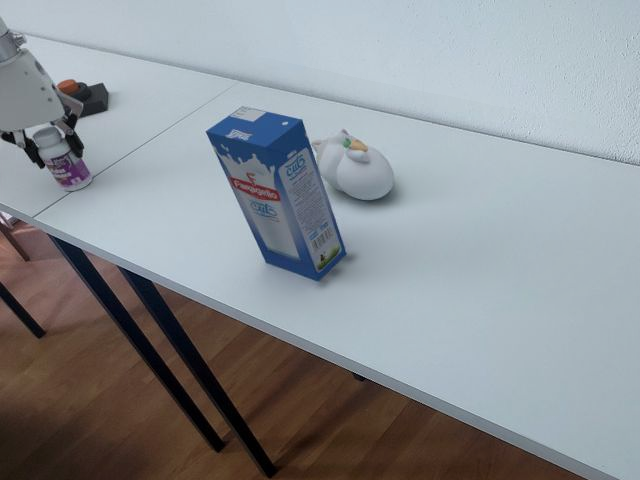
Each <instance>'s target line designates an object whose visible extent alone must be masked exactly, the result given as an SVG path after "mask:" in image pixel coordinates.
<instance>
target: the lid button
mask: <svg viewBox="0 0 640 480" xmlns="http://www.w3.org/2000/svg"><path fill="white" fill-rule="evenodd" d="M76 82H77V81H76V80H75V79H73V78H69V79H65V80H62V81H60V82H59V83H58V84H56V86H57V87H58V89H59V90H60V92H62V93H64V94H66V95H67V94H71V93H73V92H76V91H77V90H79V89H80V88H79V86H78V85H77V83H76Z"/></svg>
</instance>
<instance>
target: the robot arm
mask: <svg viewBox="0 0 640 480" xmlns="http://www.w3.org/2000/svg"><path fill="white" fill-rule="evenodd" d="M27 43H28V40H27V37H26V36H25V35H24V33H22V32H20V33H14V32H13V31H12V30H11V28H8V26H7V24H6V23H5V21H4V20H3V18H2V16H0V139H1V140H2V141H4V142H7V143H9V144H11V145H14V146H16V147H17V148H19V149H22V150H23V151H24V153H25V154H26V156H27V157H28V159H29V160H30V161H31V162H32V164H36V165H37V167H38V168H39V169H40V170H43V169H45V168H46V165H45V164H44V162H43V160H42V159H41V158H40V156H39V154H38V148H39V146H38V145H37V144H36V143H35V141H34V139H33V138H29V137H28V136H27V132H26V129H28V128H32V127H36V126H40V125H44V124H46V123H50V122H51V121H52V122H53V123H54V124H55V125H56V127H57V128H59V130H61V131H62V132H63V133H64V138H65V140H66V141H67V143H68V144H69V146H70V147H71V149H72V150H73V152H74V154H75V155H76V157H77V158H81V159H83V155H84V150H85V145H84V143H83V141H82V140H81V138H80V137H79V135H78V133H77V132H76V130H75V128H76V126H77V123H78V121H79V119H80V118H79V116H80V114H81V112H82V110H83V103H82V102H80V101H78V100H76V99H74V98H72V97H70V96H68V95H66V94H64V93H62V92H60V90H59V89H58V87H57V84H56V83H55V82H54V80H53V79H52V77H51V76H50V75H49V73H48V72H47V71H46V69H45V68H44V67H43V65H42V64H41V63H40V61H39V60H38V59H37V58H36V56H34V54H33V53H32V52H31V51H30V50H29V49H28V48H27V47H23V48H22V47H21V46H23V44H27ZM65 106H68V107H70V108H71V109H72V110H71V112H70V113H69V116H68V118H67V117H66V116H65V115H64V114H65V111H64V109H63V108H64V107H65Z"/></svg>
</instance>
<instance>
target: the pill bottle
mask: <svg viewBox="0 0 640 480" xmlns="http://www.w3.org/2000/svg"><path fill="white" fill-rule="evenodd" d="M32 140H33V141H34V142H35V143H36V145H37V146H38V154H39V156H40V158H41V159H42V160H43V162H44V164H45V167H46V168H47V169H48V171H49V172H50V174H51V175H52V177H53V178H54V179H55V181H56V182H57V184H58V185H59V187H60V188H61V189H62V190H63V191H66V192H75V191H79V190H81V189H84V188H85V187H86V188H87V186H89V185H90V184H91V183H92V181H93V175H92V173H91V171H90V169H89V168H88V166H87V165H86V163H85V162H84V160H83V158H77V157H76V155H75V154H74V152H73V150H72V149H71V147H70V146H69V144H68V143H67V141H66V140H65V137H63V135H62V133H61V132H60V129H58V127H57V126H47V127H44V128H41V129H38V130H37V131H35V132H34V133H33V134H32Z"/></svg>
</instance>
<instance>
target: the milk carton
mask: <svg viewBox="0 0 640 480" xmlns="http://www.w3.org/2000/svg"><path fill="white" fill-rule="evenodd" d="M303 120H304V119H302V118H297V117H294V116H293V117H292V116H289V115H285V114H281V113H280V114H279V113H276V112H271V111H267V110H262V109H257V108H254V107H253V108H252V107H249V106H244V105H243V106H241V107H239V108H238V109H237V110H235V111H234V112H232V113H231V114H229V115H227V116H226V117H225V118H223V119H222V120H220V121H218V122H217V123H216V124H214V125H213V126H211V127H209V128H208V129H207V130H206V131H205V134H206V136H207V138H208V140H209V142H210V145H211V146H212V149H213V151H214V152H215V155H216V157H217V160H218V163H219V164H220V167H221V168H222V170H223V173H224V175H225V177H226V179H227V182H228V184H229V186H230V188H231V190H232V192H233V194H234V196H235V199H236V201H237V203H238V205H239V208H240V210H241V212H242V215H243V217H244V219H245V221H246V223H247V225H248V227H249V229H250V231H251V234H252V237H253V238H254V240H255V242H256V245H257V247H258V249H259V251H260V253H261V255H262V257H263V260H264V262H265V263H266V264H269V265H272V266H274V267H277V268H280V269H283V270H285V271H288V272H291V273H294V274H296V275H299V276H302V277H305V278H307V279H310V280H313V281H315V282H319V281H320V280H322V279H323V278H324V276H326V275H327V274H328V273H329V272H330V271H331V270H332V269H333V268H334V267H335V266H336V265H337V264H338V263H339V262H340V261H341V260H342V259H343V258H345V256H346V255H348V253H347V250H346V247H345V243H344V241H343V238H342V234H341V232H340V229H339V226H338V223H337V220H336V217H335V214H334V211H333V208H332V206H331V203H330V199H329V196H328V193H327V189H326V187H325V184H324V180H323V177H322V176H321V174H320V172H319V169H318V166H317V159H316V157H315V154H314V151H313V147H312V145H311V142H310V139H309V136H308V133H307V130H306V127H305V124H304V122H303Z"/></svg>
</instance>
